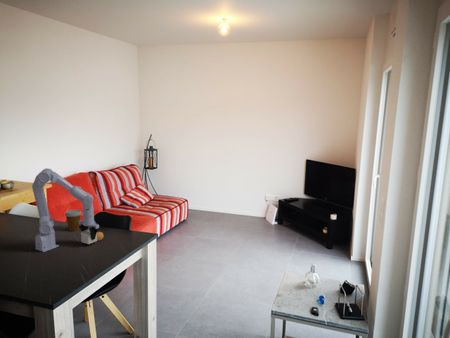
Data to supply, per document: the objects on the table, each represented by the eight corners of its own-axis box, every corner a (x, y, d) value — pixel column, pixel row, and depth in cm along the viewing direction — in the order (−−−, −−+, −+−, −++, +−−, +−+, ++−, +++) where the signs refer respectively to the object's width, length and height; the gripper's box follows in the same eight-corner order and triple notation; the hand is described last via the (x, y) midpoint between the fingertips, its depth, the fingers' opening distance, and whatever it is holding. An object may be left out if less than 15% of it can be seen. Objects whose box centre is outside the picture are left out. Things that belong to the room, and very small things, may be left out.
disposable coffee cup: (78, 232, 217) (77, 214, 215) (63, 232, 217) (62, 213, 215) (84, 227, 226) (83, 209, 224) (70, 226, 226) (69, 209, 224)
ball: (103, 231, 204) (106, 237, 207) (97, 229, 207) (100, 235, 209) (97, 237, 201) (100, 243, 203) (91, 235, 203) (94, 241, 206)
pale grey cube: (88, 244, 195) (88, 234, 194) (81, 241, 198) (80, 232, 197) (97, 240, 200) (96, 230, 199) (89, 238, 203) (89, 228, 202)
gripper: (102, 215, 197) (103, 238, 199) (85, 211, 204) (86, 233, 206) (92, 219, 191) (93, 242, 193) (75, 214, 197) (76, 237, 200)
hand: (89, 238), depth 199 cm, fingers closed on pale grey cube, 6 cm apart
